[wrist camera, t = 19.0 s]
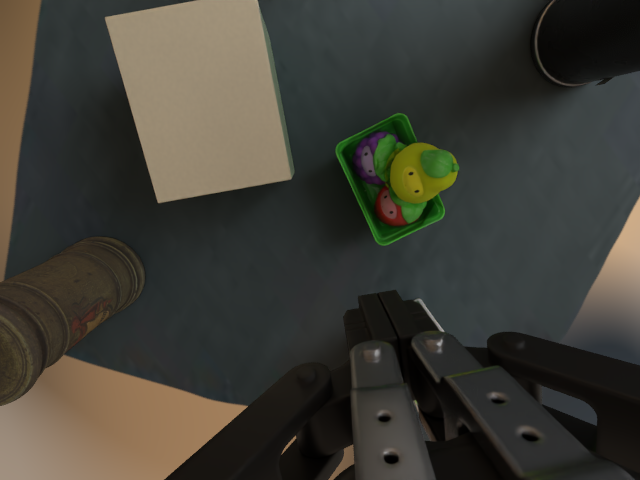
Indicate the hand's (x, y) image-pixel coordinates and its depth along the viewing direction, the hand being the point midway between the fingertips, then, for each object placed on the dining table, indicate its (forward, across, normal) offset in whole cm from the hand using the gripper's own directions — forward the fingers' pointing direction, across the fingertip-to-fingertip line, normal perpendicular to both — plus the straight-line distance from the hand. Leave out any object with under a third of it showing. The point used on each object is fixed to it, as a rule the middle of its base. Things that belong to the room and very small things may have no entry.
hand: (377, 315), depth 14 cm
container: (+28, +27, +4) cm, 39 cm away
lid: (+19, +9, -11) cm, 24 cm away
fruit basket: (+28, -6, -2) cm, 29 cm away
